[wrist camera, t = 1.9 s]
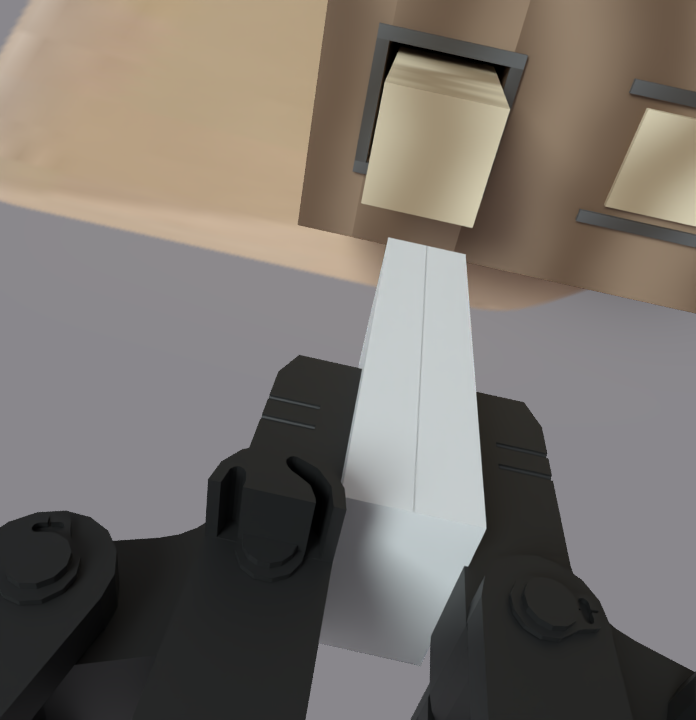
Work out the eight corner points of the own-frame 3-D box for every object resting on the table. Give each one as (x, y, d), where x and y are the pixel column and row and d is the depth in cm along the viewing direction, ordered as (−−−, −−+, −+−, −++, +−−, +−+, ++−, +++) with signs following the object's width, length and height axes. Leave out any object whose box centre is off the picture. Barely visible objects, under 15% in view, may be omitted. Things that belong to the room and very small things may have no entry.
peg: (493, 66, 25) (510, 109, 19) (466, 160, 28) (472, 227, 21) (400, 45, 25) (384, 81, 19) (381, 141, 28) (361, 203, 21)
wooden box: (779, 9, 29) (898, 33, 21) (659, 240, 36) (716, 320, 28) (367, -81, 29) (338, -88, 21) (328, 166, 36) (296, 227, 28)
